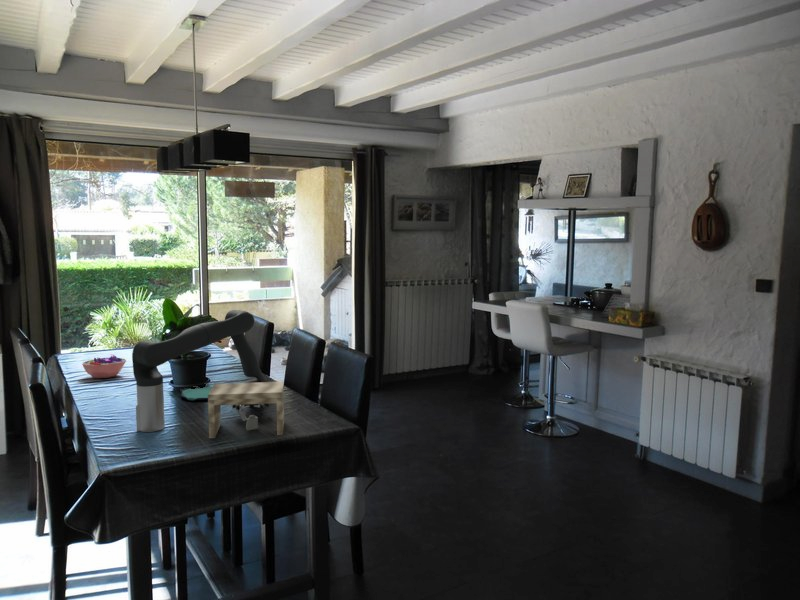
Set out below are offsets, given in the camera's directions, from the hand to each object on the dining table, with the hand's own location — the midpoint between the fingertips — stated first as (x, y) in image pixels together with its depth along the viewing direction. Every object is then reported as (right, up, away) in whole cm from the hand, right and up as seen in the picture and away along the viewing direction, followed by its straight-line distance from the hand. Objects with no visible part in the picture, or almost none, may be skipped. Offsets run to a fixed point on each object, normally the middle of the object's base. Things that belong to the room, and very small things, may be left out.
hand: (249, 407), depth 238 cm
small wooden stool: (+1, -7, -8) cm, 10 cm away
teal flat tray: (-33, -2, +43) cm, 54 cm away
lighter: (+1, -7, -8) cm, 11 cm away
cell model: (-91, +2, +73) cm, 117 cm away
